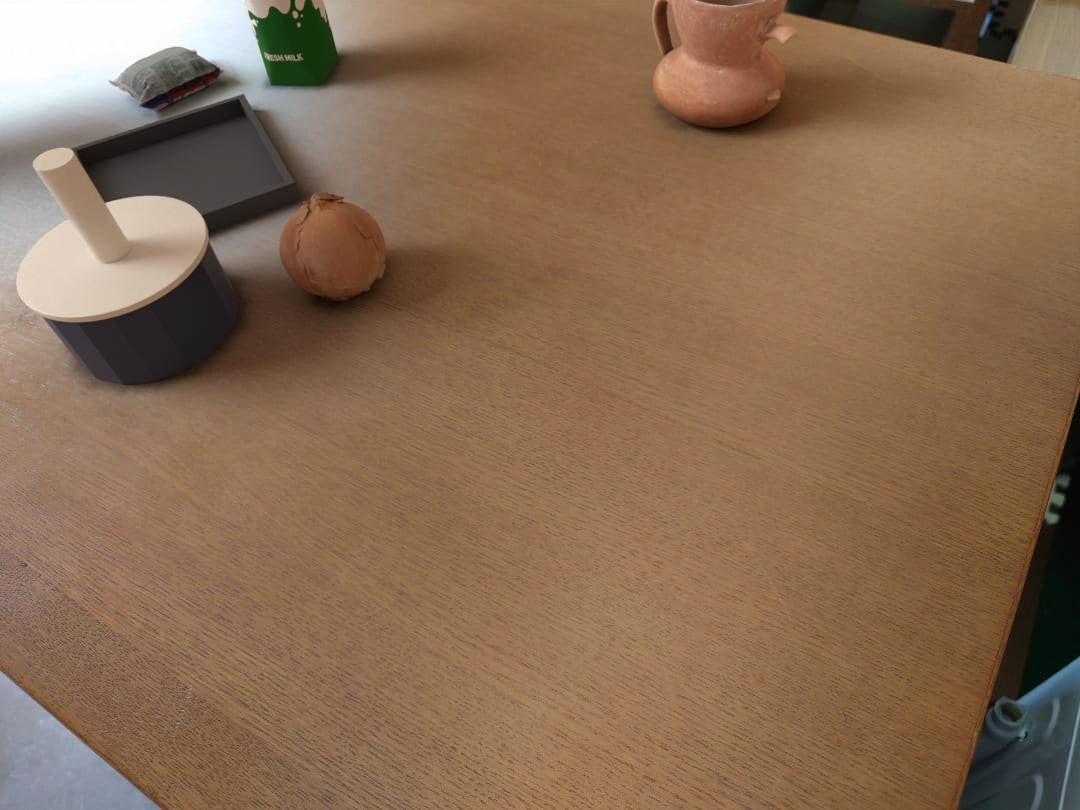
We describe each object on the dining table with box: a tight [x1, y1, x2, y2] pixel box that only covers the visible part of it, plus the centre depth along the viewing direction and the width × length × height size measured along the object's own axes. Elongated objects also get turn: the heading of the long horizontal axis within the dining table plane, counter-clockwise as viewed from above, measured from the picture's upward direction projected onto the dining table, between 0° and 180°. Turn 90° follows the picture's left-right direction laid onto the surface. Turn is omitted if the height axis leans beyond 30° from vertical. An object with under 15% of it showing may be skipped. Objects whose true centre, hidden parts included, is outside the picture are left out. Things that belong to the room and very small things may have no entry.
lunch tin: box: [41, 239, 240, 385], centre depth 69 cm, size 15×15×8 cm
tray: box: [70, 93, 302, 234], centre depth 86 cm, size 22×21×3 cm
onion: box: [279, 191, 387, 302], centre depth 71 cm, size 10×9×10 cm
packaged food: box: [107, 46, 225, 111], centre depth 99 cm, size 9×12×5 cm
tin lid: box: [15, 147, 210, 322], centre depth 62 cm, size 16×16×10 cm
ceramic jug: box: [651, 0, 798, 129], centre depth 84 cm, size 18×14×14 cm
